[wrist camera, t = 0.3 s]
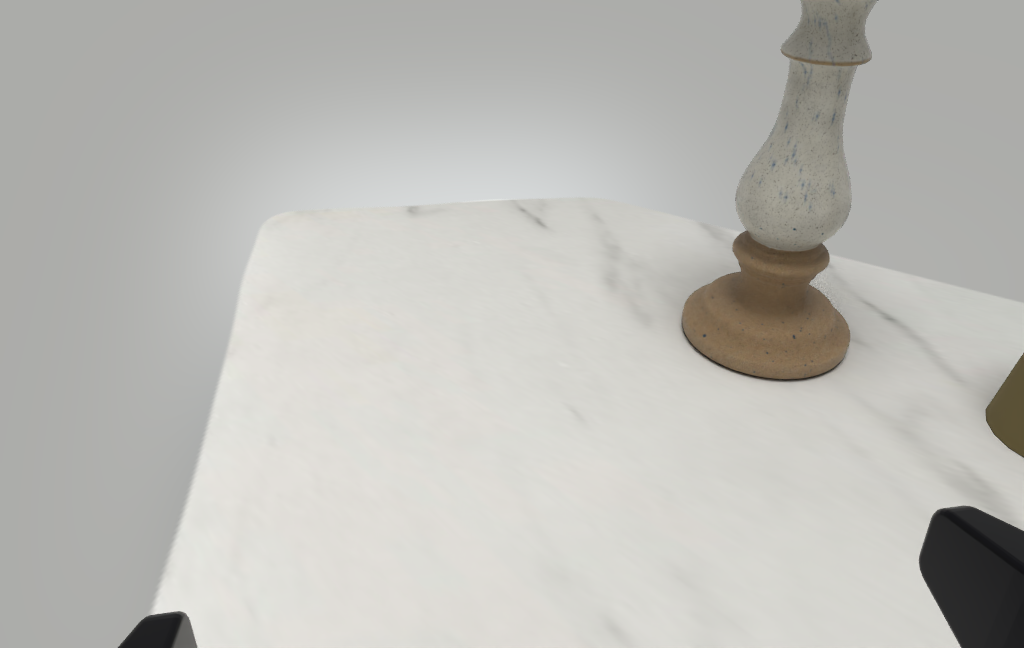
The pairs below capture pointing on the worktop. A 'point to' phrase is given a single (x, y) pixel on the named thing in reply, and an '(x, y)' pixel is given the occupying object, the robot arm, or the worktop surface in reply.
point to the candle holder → (790, 214)
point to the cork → (1009, 410)
